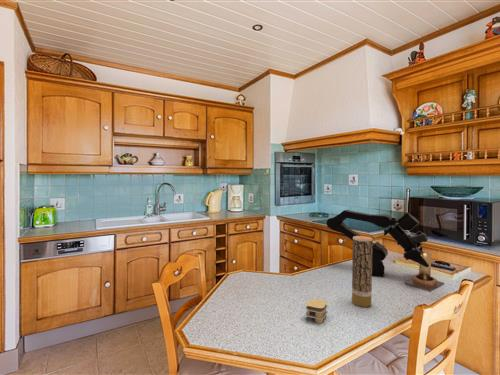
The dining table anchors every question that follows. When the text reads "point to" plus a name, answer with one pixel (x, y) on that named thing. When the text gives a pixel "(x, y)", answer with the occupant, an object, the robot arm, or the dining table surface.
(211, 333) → the dining table surface
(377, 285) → the dining table surface
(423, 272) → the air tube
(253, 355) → the dining table surface
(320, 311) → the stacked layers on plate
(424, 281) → the brown base plate
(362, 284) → the bark covered log
